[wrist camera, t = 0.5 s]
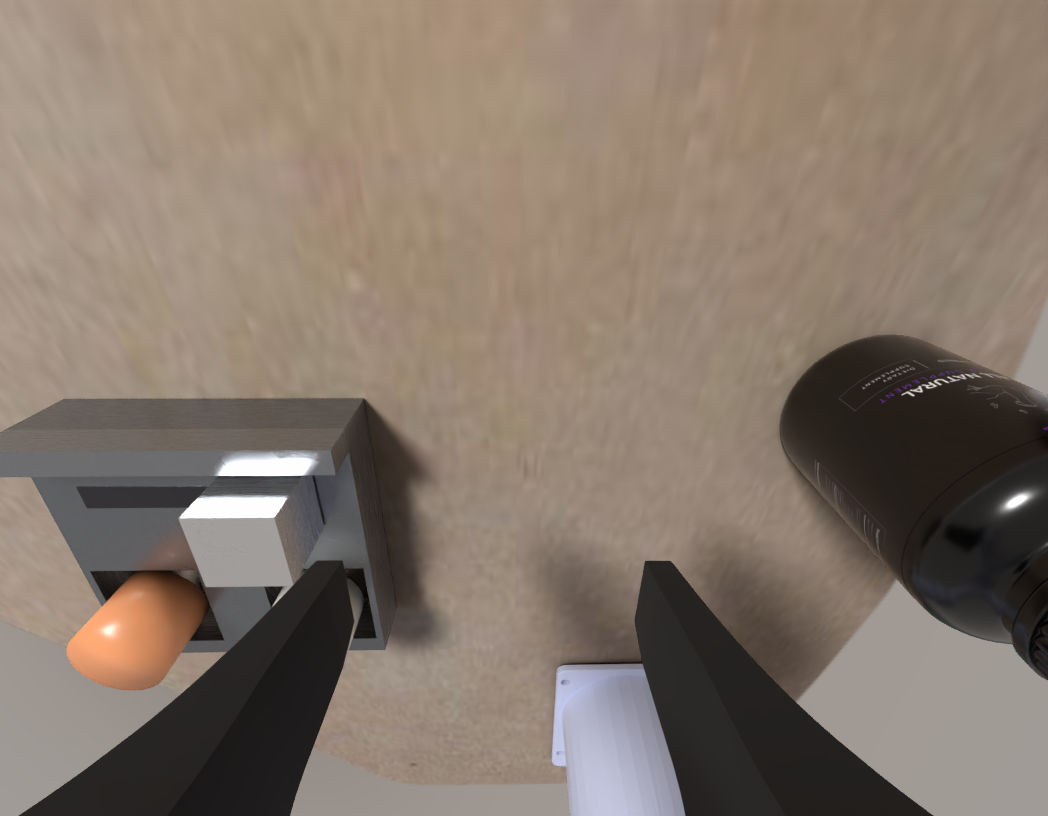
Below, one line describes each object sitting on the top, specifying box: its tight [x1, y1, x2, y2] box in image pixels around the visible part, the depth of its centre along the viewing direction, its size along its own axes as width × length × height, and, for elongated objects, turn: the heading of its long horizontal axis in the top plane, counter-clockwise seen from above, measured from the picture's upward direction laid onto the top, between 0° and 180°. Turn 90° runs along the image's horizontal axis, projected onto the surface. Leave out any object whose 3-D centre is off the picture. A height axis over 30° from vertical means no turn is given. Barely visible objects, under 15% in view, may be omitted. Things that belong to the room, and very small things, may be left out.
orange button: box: [67, 570, 208, 690], centre depth 20 cm, size 4×4×3 cm
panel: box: [0, 399, 397, 653], centre depth 20 cm, size 12×12×4 cm
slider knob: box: [178, 475, 324, 587], centre depth 17 cm, size 3×3×3 cm
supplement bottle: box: [780, 335, 1048, 680], centre depth 15 cm, size 7×7×12 cm
